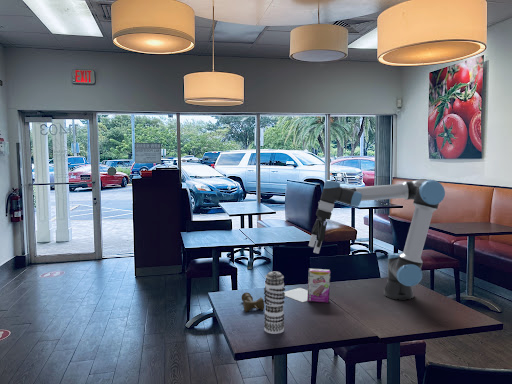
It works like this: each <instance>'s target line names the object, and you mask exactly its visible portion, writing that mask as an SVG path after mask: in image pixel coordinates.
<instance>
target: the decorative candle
mask: <svg viewBox="0 0 512 384" xmlns="http://www.w3.org/2000/svg"><path fill="white" fill-rule="evenodd" d="M264 277H265V286H264V287H263V295H264V296H263V297H264V299H263V300H264V306H265V308H264V310H265V311H264V317H263V319H264V321H263V322H264V324H263V325H264V329H263V330H264V331H265V333H267V334H274V335H275V334H277V335H278V334H281V333H283V332H284V330H285V329H284V328H285V321H284V320H285V314H284V305H285V300H284V299H285V298H286V296H284V295H285V293H284V292H285V291H286V288H285V287H286V285H285V282H284V278H285V276H284V275H283V274H282V273H281V272H280V271H269V272H268V273H266V274H265V276H264Z"/></svg>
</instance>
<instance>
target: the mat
mask: <svg viewBox="0 0 512 384" xmlns="http://www.w3.org/2000/svg"><path fill="white" fill-rule="evenodd" d="M283 292H284V293H285V295H283V296H284V297H285V298H286V297H287V298H289V299H292V300H295V301H297V302H300V303H306V302H309V301H308V299H307V296H308V289H304V288H302V287H297V288H294V289H290V290H285V291H283Z"/></svg>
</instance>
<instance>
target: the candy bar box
mask: <svg viewBox="0 0 512 384" xmlns="http://www.w3.org/2000/svg"><path fill="white" fill-rule="evenodd" d="M307 280H308V281H307V283H308V284H307V290H308V296H307V299H308V301H307V302H313V303H330V302H329V301H330V289H331V287H330V285H331V270H330V269H326V268H325V269H322V268H308V279H307Z"/></svg>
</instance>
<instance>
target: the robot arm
mask: <svg viewBox="0 0 512 384" xmlns="http://www.w3.org/2000/svg"><path fill="white" fill-rule="evenodd" d="M445 196H446V190H445V188H444V186H443V185H442V183H440V182H439V181H437V180H434V179H425V178H421V179H415V180H410V181H403V182H402V183H396V184H385V185H383V184H382V185H381V184H379V185H369V186H356V187H342V186H341V183H340V182H339V181H334V180H331V179H327V180H325V182H324V185H323V188H322V192H321V196H320V200H319V201H318V202H317V203H318V206H317V209H316V212H315V215H316V216H317V217H316V220H315V222H314V225H313V227H312V229H311V236H310V239H309V243H308V244H307V245H308V247H310V248H313V253H314V254H320V251H321V247H322V243H323V242H324V241H325V237H326V236H325V235H326V231H327V230H326V229H327V225H328V221H326V220H331V217H332V214H333V213H332V212H333V210H334V207H335V204H336V202H338V203H341V204H344V205H349V206H351V207H355V208H356V207H359V206H360V204H361V202H365V201H366V202H367V201H378V200H379V201H380V200H393V199H395V200H396V199H404V200H412V201H413V202H412V205H413V206H414V210H413V214H412V218H411V220H410V221H411V222H410V226H409V228H408V232H407V237H406V240H405V245H404V248H403V251H402V253H398V252H397V253H395V252H393V253H389V255H388V258H387V282H386V284H385V287H384V289H383V295H384V297H386V296H387V298H389V299H393V300H397V299H399V300H398V301H407V300H406V299H409V300H412V299H413V298H414V291H413V287H414V286H416V285H418V284H419V283H420V282H421V281H422V279H423V271H422V266H423V263H424V262H423V259H422V254H423V249H424V246H425V243H426V240H427V235H428V231H429V228H430V224H431V222H432V218H433V213H434V212H436V211H438V208H439V204H440V203H441V202H442V201H443V200H444V198H445ZM411 298H412V299H411Z"/></svg>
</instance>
